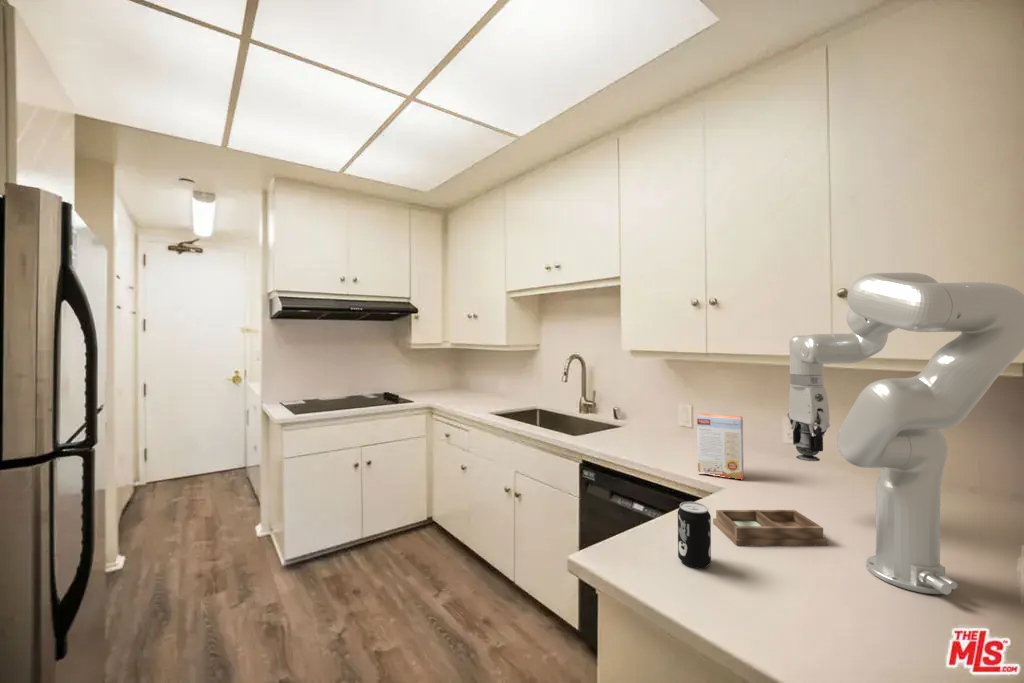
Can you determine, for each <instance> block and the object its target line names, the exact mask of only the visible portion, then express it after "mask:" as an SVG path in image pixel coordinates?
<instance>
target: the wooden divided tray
mask: <svg viewBox="0 0 1024 683" xmlns="http://www.w3.org/2000/svg"><path fill="white" fill-rule="evenodd" d="M715 513H716V515H715V516H716V517H715V518H712V523H713V525H714V526H716V527H717V528H718V530H720V532H722V534H724V536H726V537H727V538H728V539H729V540H730V541H731V542H732V543H733V544H734V545H735V546H736V545H762V546H829V543H828V541H829V540H828V539H827V538H826V537H824V527H823V526H821V525H819V524H818V523H816V522H815V521H813V520H811V519H810V518H808V517H806V515H803V514H802V513H801V512H799V511H797V510H795V509H716V510H715Z"/></svg>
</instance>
